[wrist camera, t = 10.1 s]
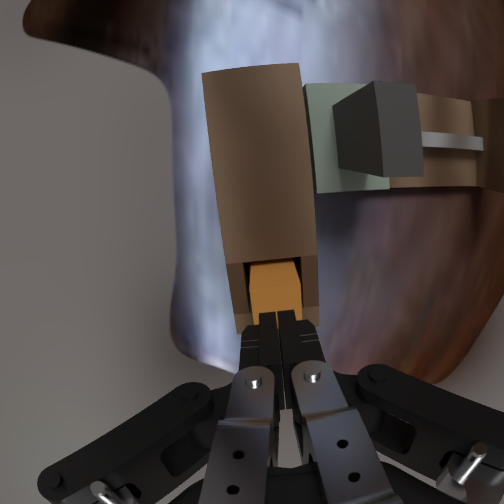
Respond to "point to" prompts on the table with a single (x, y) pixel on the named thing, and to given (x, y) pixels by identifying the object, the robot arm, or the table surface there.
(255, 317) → the button
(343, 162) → the sliding handle
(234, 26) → the table surface
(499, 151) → the brown mechanism housing
